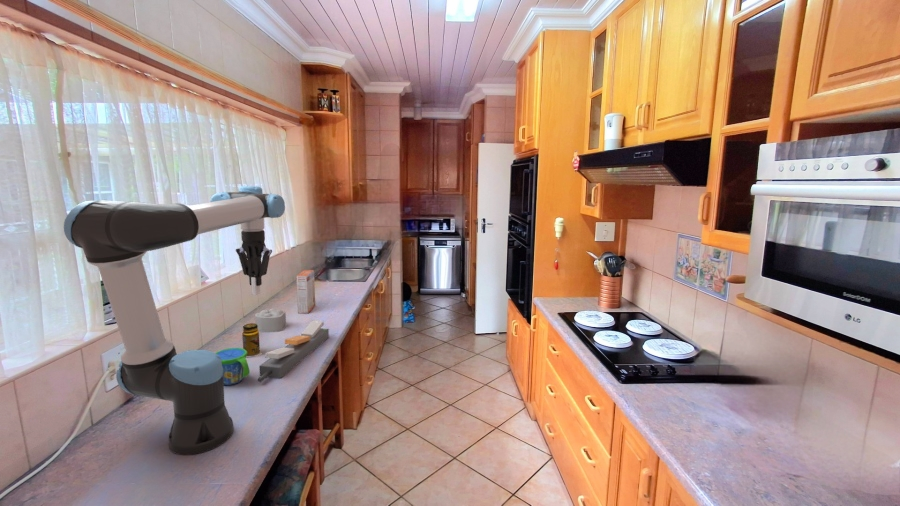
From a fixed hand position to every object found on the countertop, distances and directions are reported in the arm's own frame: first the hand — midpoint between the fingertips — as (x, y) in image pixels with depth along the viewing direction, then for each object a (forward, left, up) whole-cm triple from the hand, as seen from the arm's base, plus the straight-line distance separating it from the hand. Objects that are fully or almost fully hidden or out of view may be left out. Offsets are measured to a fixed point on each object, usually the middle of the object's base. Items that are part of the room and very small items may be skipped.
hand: (256, 294), depth 148 cm
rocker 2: (+13, -8, -22) cm, 27 cm away
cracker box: (+68, +16, -29) cm, 75 cm away
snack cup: (-12, +3, -29) cm, 31 cm away
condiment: (+10, +11, -29) cm, 32 cm away
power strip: (+10, -8, -28) cm, 31 cm away
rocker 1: (0, -8, -22) cm, 24 cm away
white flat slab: (+26, -8, -22) cm, 35 cm away
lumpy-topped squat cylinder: (+38, +19, -29) cm, 51 cm away
